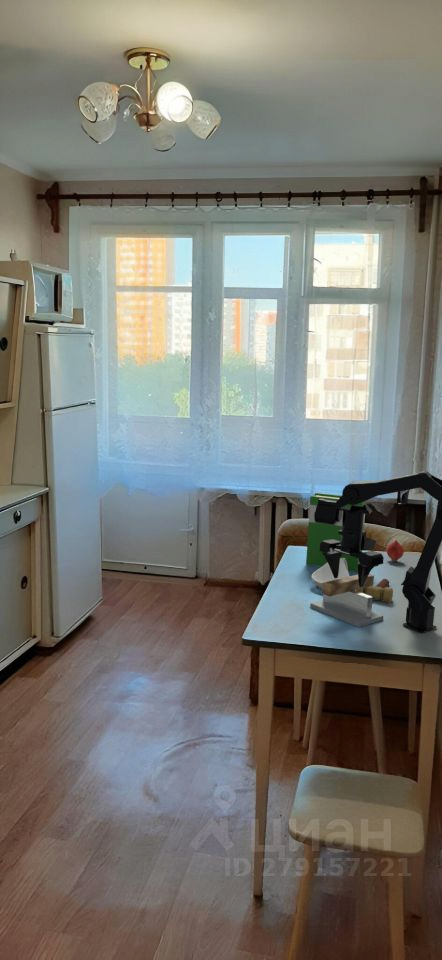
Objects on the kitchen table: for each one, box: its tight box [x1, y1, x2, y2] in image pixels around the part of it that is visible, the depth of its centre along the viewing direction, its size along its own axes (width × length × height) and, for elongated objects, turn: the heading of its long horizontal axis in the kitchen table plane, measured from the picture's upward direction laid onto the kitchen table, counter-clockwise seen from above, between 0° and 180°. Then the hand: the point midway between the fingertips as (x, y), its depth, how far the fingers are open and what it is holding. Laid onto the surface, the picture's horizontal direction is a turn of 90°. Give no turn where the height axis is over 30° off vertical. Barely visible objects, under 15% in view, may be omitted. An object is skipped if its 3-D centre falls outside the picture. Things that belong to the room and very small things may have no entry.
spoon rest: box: [311, 558, 350, 590], centre depth 226 cm, size 24×12×7 cm, turn 160°
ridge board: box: [309, 599, 384, 628], centre depth 198 cm, size 18×10×1 cm, turn 39°
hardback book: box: [305, 492, 367, 573], centre depth 244 cm, size 18×7×24 cm, turn 69°
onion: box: [386, 539, 404, 562], centre depth 253 cm, size 6×6×8 cm
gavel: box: [355, 578, 394, 604], centre depth 219 cm, size 21×5×10 cm
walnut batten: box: [321, 573, 375, 596], centre depth 197 cm, size 18×3×3 cm, turn 129°
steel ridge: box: [322, 581, 374, 619], centre depth 198 cm, size 16×2×6 cm, turn 39°
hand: (348, 582), depth 197 cm, fingers open, 9 cm apart
